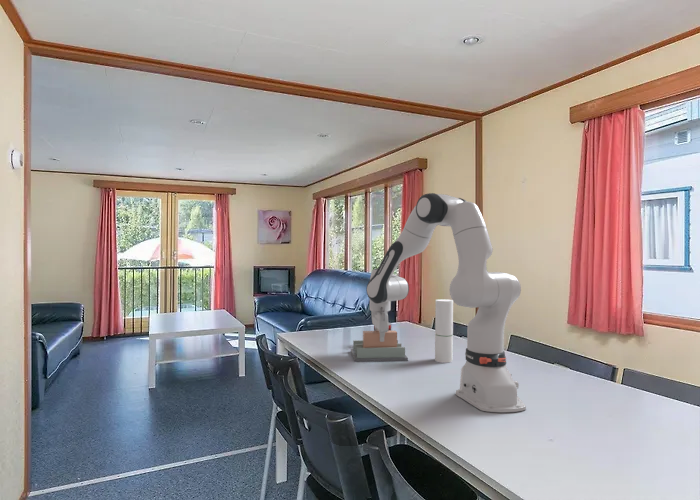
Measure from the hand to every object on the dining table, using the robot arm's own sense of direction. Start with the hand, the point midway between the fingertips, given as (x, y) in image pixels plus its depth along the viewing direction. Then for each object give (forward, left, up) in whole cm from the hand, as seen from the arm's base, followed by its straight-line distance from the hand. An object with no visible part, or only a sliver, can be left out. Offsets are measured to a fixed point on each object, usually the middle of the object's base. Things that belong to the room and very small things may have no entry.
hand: (379, 339), depth 180 cm
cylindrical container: (-5, -26, -8) cm, 28 cm away
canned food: (+22, -5, -8) cm, 24 cm away
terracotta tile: (0, 0, -7) cm, 7 cm away
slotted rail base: (+4, 0, -8) cm, 9 cm away
